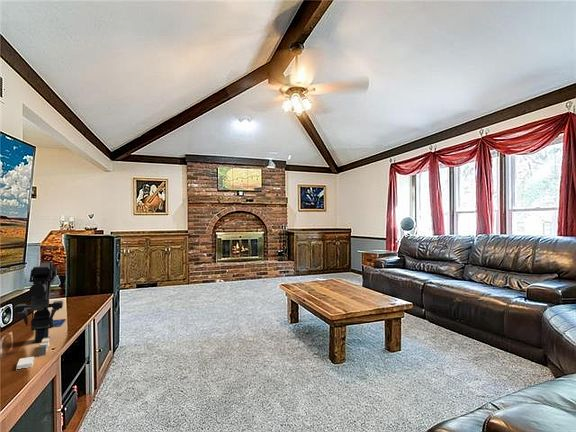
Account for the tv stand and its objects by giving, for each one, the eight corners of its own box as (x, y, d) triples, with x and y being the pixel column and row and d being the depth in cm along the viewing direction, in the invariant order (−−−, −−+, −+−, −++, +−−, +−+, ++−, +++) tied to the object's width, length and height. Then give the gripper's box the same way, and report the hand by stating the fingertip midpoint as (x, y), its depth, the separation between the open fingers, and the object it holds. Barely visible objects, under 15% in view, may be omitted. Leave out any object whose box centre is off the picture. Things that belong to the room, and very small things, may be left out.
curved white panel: (42, 346, 161) (43, 337, 161) (49, 345, 162) (49, 337, 162) (38, 356, 149) (38, 347, 149) (45, 355, 150) (45, 346, 150)
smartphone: (46, 327, 188) (53, 319, 202) (46, 328, 188) (53, 321, 202) (61, 325, 191) (67, 318, 205) (61, 327, 191) (67, 320, 205)
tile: (19, 358, 141) (16, 365, 134) (34, 356, 144) (31, 363, 137) (19, 363, 141) (16, 371, 134) (33, 361, 144) (31, 368, 137)
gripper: (11, 297, 146) (10, 331, 146) (61, 293, 156) (60, 326, 155) (17, 292, 156) (15, 325, 155) (63, 289, 165) (62, 320, 165)
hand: (38, 324), depth 158 cm, fingers open, 9 cm apart
